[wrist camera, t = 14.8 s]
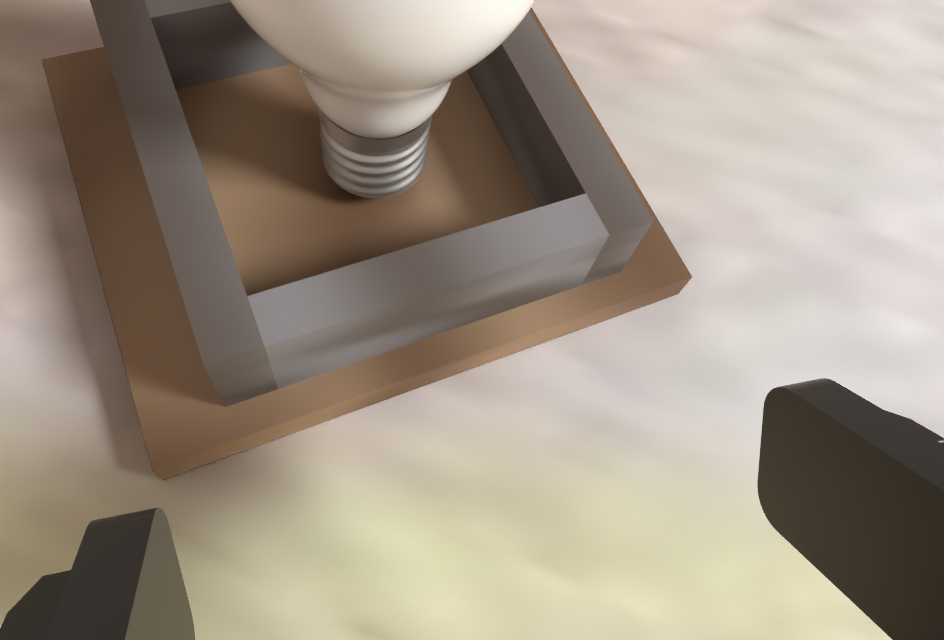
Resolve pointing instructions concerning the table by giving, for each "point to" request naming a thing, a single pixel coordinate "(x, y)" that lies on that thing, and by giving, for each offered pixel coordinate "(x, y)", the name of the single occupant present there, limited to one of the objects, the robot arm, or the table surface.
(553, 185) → the bulb stand
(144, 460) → the table surface
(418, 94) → the lightbulb
